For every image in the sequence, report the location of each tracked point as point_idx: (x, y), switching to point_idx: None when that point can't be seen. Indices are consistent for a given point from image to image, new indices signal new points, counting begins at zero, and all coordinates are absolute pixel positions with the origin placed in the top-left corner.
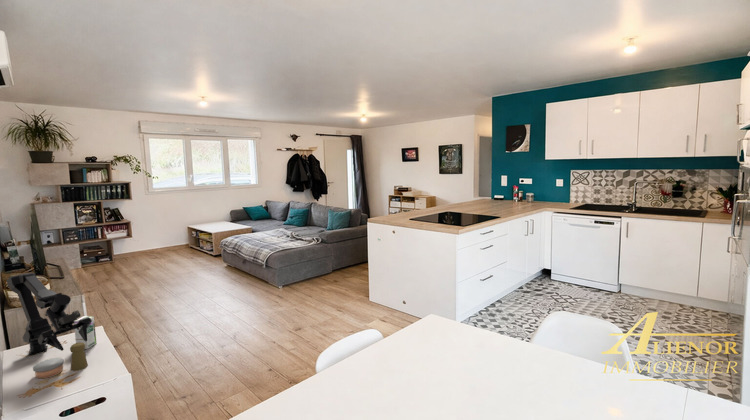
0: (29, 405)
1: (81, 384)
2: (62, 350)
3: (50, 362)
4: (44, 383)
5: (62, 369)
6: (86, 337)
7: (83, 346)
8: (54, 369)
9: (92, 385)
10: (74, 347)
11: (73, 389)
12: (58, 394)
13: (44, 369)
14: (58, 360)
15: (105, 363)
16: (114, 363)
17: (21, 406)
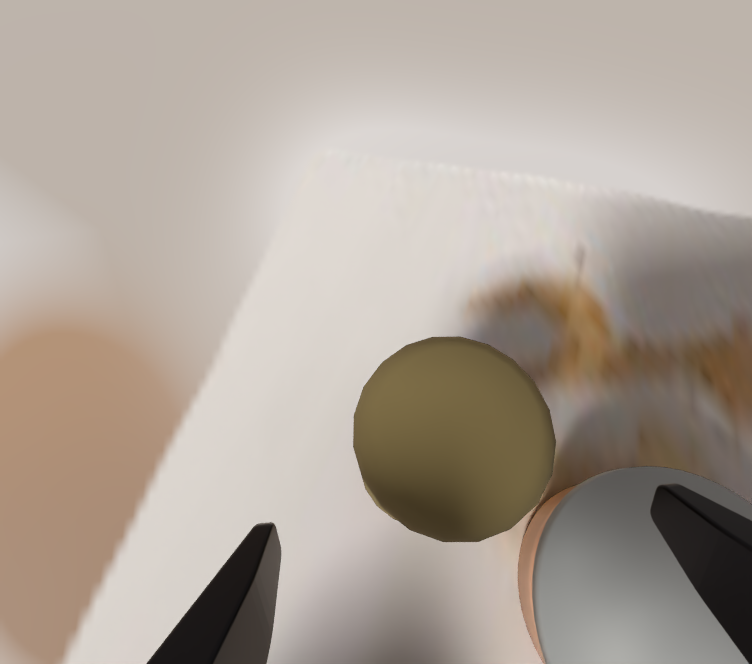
0: (738, 227)
1: (493, 216)
2: (658, 507)
3: (676, 653)
4: (664, 419)
5: (533, 522)
6: (233, 566)
7: (400, 351)
8: None
9: (459, 167)
10: (518, 369)
11: (537, 202)
12: (606, 215)
13: (734, 496)
14: (593, 616)
15: (287, 344)
16: (261, 293)
17: None
